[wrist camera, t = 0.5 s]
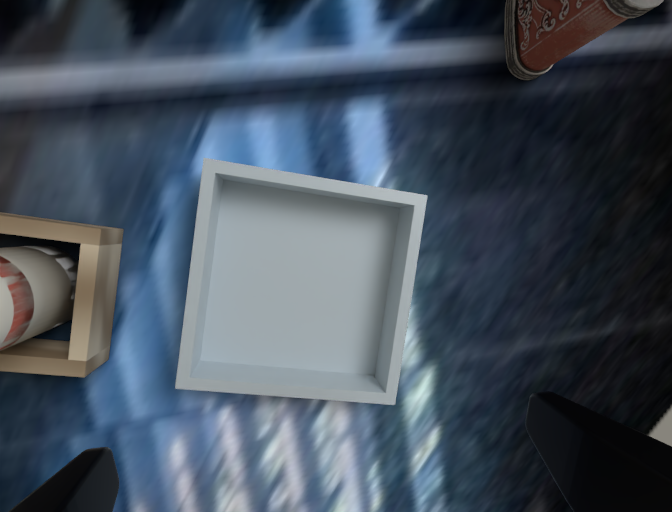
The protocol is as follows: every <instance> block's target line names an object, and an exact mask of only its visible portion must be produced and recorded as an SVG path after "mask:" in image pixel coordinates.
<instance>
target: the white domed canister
mask: <svg viewBox="0 0 672 512" xmlns="http://www.w3.org/2000/svg"><path fill="white" fill-rule="evenodd" d="M78 265H79V262H78V261H77V260H76V259H75V258H74V257H73V256H72V255H70V254H69V253H67V252H66V251H64V250H61V249H59V248H56V247H52V246H46V245H36V246H20V247H4V248H0V351H1V350H4V349H6V348H8V347H11V346H13V345H15V344H17V343H20V342H22V341H24V340H27V339H29V338H31V337H34V336H36V335H38V334H41V333H43V332H45V331H48V330H50V329H52V328H55V327H57V326H59V325H62V324H64V323H66V322H68V321H69V320H71V319H72V318H73V310H74V301H75V292H76V283H77V274H78Z"/></svg>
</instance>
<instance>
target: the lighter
mask: <svg viewBox="0 0 672 512" xmlns="http://www.w3.org/2000/svg"><path fill="white" fill-rule="evenodd" d="M663 1H664V0H506V5H505V28H504V38H505V51H506V63H507V66H508V69H509V70H510V72H511V73H512V74H513V75H514V76H516V77H517V78H519V79H522V80H532V79H534V78H537V77H539V76H540V75H542V74H544V73H545V72H547V71H548V70H549V69H550V68H551V67H552V66H553V64H554V63H556V62H557V61H559V60H561V59H562V58H564V57H566V56H567V55H569V54H571V53H572V52H574V51H575V50H577V49H579V48H580V47H582V46H584V45H585V44H587V43H589V42H590V41H592V40H593V39H595V38H597V37H598V36H600V35H602V34H603V33H605V32H607V31H608V30H610V29H612V28H613V27H615V26H616V25H618V24H620V23H621V22H623V21H625V20H626V19H628V18H635V17H638V16H640V15H643V14H644V13H646V12H648V11H649V10H651V9H653V8H654V7H656V6H658V5H659V4H661V3H662V2H663Z"/></svg>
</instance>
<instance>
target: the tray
mask: <svg viewBox="0 0 672 512" xmlns="http://www.w3.org/2000/svg"><path fill="white" fill-rule="evenodd" d="M426 201H427V195H421V194H415V193H409V192H404V191H398V190H392V189H386V188H380V187H374V186H368V185H362V184H356V183H350V182H344V181H338V180H332V179H326V178H320V177H314V176H309V175H303V174H297V173H291V172H285V171H279V170H273V169H267V168H261V167H255V166H249V165H243V164H237V163H231V162H225V161H220V160H214V159H208V158H204V160H203V168H202V176H201V184H200V192H199V200H198V208H197V216H196V224H195V232H194V240H193V248H192V256H191V264H190V272H189V280H188V288H187V297H186V305H185V313H184V321H183V329H182V337H181V345H180V353H179V361H178V369H177V377H176V385H175V389H186V390H199V391H213V392H226V393H240V394H253V395H267V396H280V397H294V398H307V399H321V400H334V401H348V402H361V403H375V404H388V405H395V402H396V395H397V389H398V382H399V376H400V369H401V363H402V356H403V350H404V343H405V337H406V331H407V324H408V318H409V311H410V305H411V298H412V292H413V285H414V279H415V272H416V266H417V260H418V253H419V247H420V240H421V234H422V227H423V221H424V214H425V208H426Z"/></svg>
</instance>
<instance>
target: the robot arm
mask: <svg viewBox="0 0 672 512" xmlns="http://www.w3.org/2000/svg"><path fill="white" fill-rule="evenodd" d="M526 429H527V431H528V434H529V436H530V437H531V439H532V441H533V443H534V445H535V446H536V448H537V450H538V452H539V453H540V455H541V457H542V459H543V460H544V462H545V464H546V466H547V467H548V469H549V471H550V473H551V474H552V476H553V478H554V480H555V482H556V483H557V485H558V487H559V489H560V490H561V492H562V494H563V495H564V497H565V499H566V500H567V502H568V503H569V505H570V506H571V508H572V510H573V511H574V512H672V447H671V446H669V445H667V444H665V443H663V442H660V441H658V440H656V439H654V438H652V437H649V436H647V435H645V434H643V433H641V432H639V431H636V430H634V429H632V428H630V427H628V426H625V425H623V424H621V423H619V422H617V421H614V420H612V419H610V418H608V417H606V416H603V415H601V414H599V413H597V412H595V411H592V410H590V409H588V408H586V407H584V406H581V405H579V404H577V403H575V402H573V401H570V400H568V399H566V398H564V397H562V396H559V395H557V394H555V393H553V392H549V391H545V392H537V393H533V394H532V395H531V396H530V399H529V404H528V410H527V416H526ZM118 489H119V477H118V473H117V469H116V465H115V461H114V457H113V453H112V451H111V449H110V448H109V447H100V448H92V449H87V450H85V451H83V452H82V453H81V454H79V455H78V456H77V457H76V458H74V459H73V460H72V461H71V462H69V463H68V464H67V465H66V466H64V467H63V468H62V469H61V470H60V471H58V472H57V473H56V474H55V475H53V476H52V477H51V478H50V479H48V480H47V481H46V482H45V483H43V484H42V485H41V486H40V487H38V488H37V489H36V490H35V491H34V492H32V493H31V494H30V495H29V496H27V497H26V498H25V499H24V500H22V501H21V502H20V503H19V504H17V505H16V506H15V507H14V508H12V509H11V510H10V511H9V512H112V511H113V508H114V504H115V501H116V497H117V494H118Z"/></svg>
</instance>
